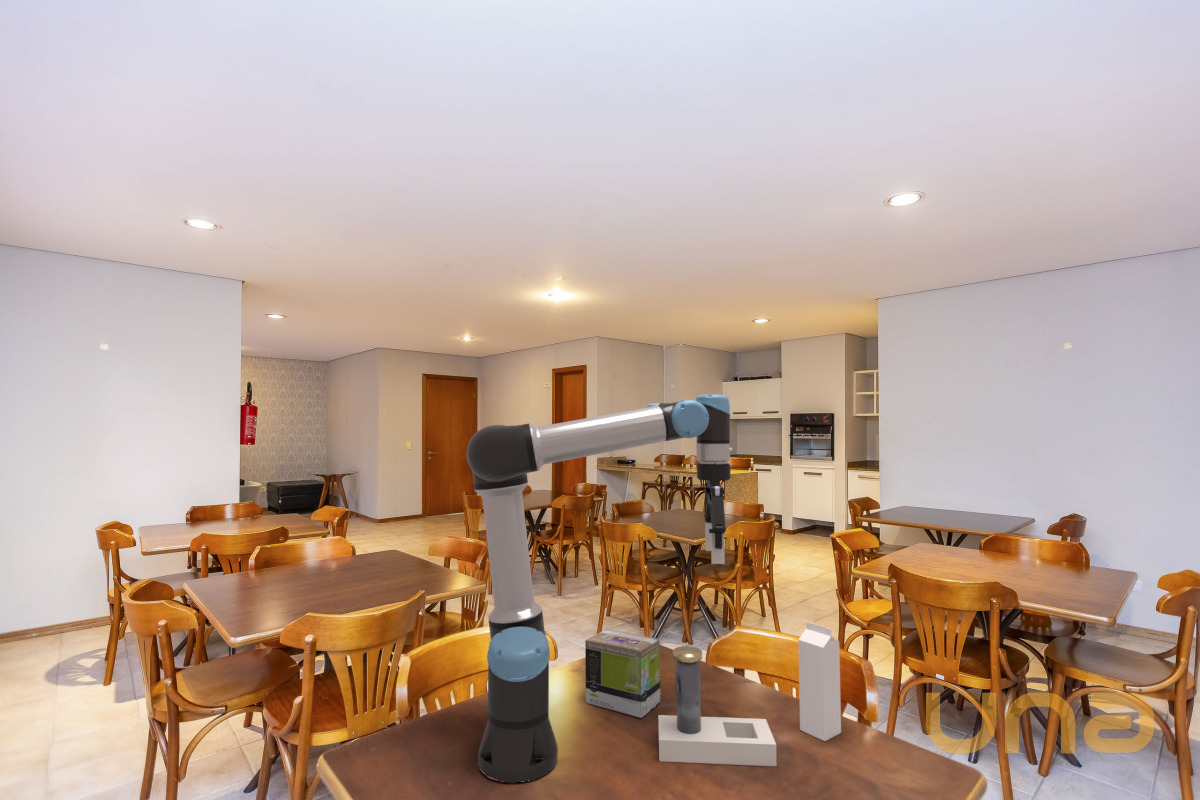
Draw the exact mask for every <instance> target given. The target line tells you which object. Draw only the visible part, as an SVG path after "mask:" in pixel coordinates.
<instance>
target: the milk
mask: <svg viewBox="0 0 1200 800" xmlns="http://www.w3.org/2000/svg"><path fill="white" fill-rule="evenodd" d="M840 654H841V653H840V641H839V640H838V639H836V638H835V637H833V636H832V629H831V628H829V627H826V626H823V625H819V624H816V623H812V622H809V621H806V623H805V630H804V631H803V633H802V634H801V635H800V637H799V638H798V683H799V684H798V685H799V687H798V688H799V690H798V691H799V692H798V693H799V699H798V700H799V701H798V702H799V731H802V732H804V733H805V734H808V735H810V736H812V737H814V738H816V739H819V740H820V741H823V742H827V741H829V740H830V739H832V738H835V737H836V736H838V735H840V734H841V733H842V715H841V714H842V712H841V711H842V708H841V705H842V704H841V701H842V700H841V661H840V657H841V655H840Z"/></svg>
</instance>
